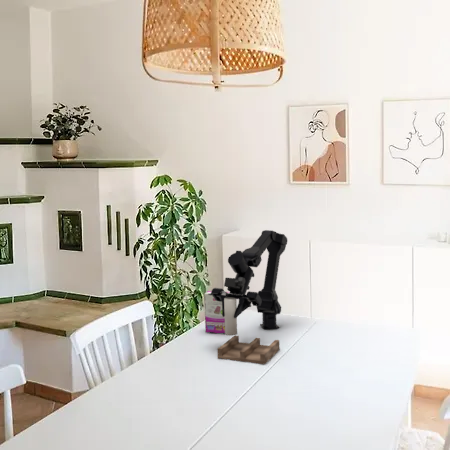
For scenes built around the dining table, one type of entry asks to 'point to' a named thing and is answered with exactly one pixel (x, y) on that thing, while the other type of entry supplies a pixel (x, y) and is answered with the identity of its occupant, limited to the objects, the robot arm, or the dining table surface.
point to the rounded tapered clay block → (230, 316)
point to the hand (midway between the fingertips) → (228, 316)
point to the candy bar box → (213, 314)
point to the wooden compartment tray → (248, 350)
